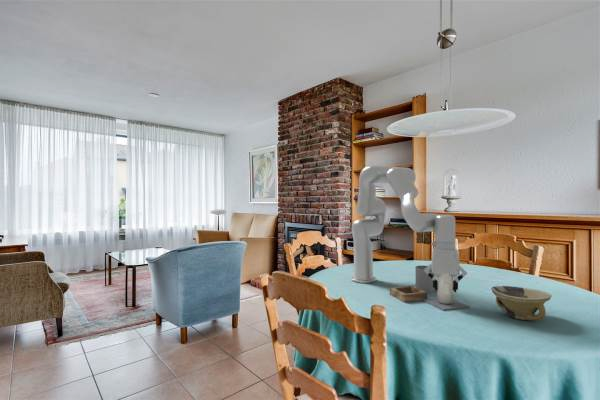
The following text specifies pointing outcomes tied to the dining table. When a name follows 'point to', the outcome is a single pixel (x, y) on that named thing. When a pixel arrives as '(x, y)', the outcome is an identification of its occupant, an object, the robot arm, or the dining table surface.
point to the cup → (424, 279)
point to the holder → (408, 293)
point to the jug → (445, 288)
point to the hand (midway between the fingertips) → (445, 290)
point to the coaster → (445, 307)
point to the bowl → (521, 302)
